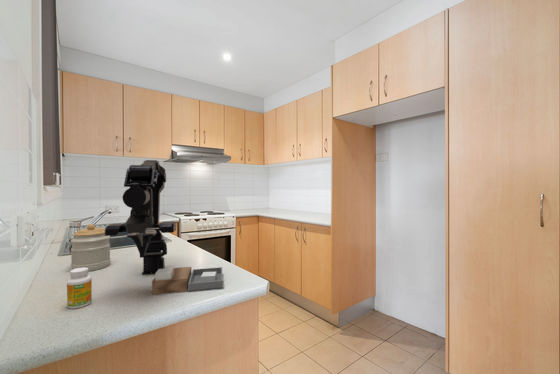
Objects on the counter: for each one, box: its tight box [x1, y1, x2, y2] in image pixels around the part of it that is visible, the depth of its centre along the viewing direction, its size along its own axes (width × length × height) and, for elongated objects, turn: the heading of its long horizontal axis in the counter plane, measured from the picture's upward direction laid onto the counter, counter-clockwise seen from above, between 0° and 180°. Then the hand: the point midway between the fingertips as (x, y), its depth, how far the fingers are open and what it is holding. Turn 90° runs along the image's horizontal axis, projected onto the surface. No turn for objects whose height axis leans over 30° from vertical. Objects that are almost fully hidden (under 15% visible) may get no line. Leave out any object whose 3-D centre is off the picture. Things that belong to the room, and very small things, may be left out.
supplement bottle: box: [66, 268, 93, 310], centre depth 71 cm, size 5×5×10 cm
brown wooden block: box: [151, 266, 192, 296], centre depth 84 cm, size 10×12×4 cm
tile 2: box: [154, 267, 175, 280], centre depth 81 cm, size 4×4×2 cm
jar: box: [70, 223, 112, 272], centre depth 104 cm, size 13×13×18 cm
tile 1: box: [201, 271, 217, 282], centre depth 88 cm, size 4×4×2 cm
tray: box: [187, 266, 224, 293], centre depth 87 cm, size 10×14×2 cm
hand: (142, 256), depth 80 cm, fingers closed
